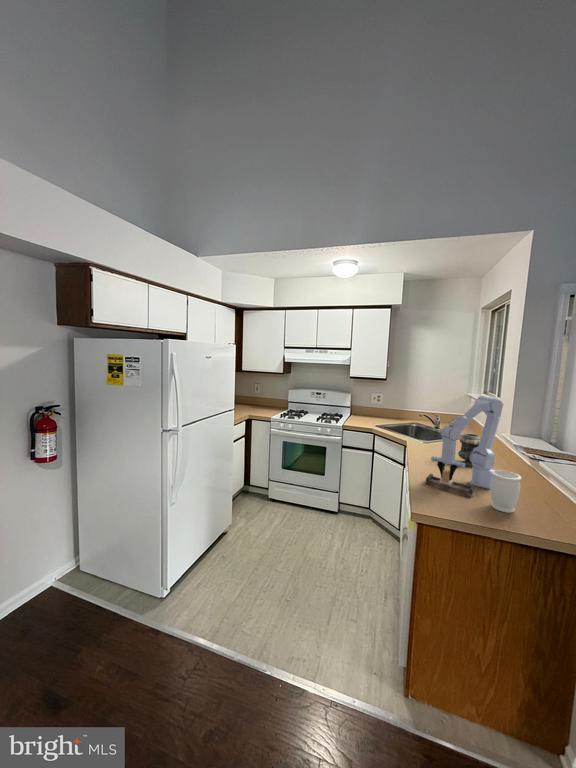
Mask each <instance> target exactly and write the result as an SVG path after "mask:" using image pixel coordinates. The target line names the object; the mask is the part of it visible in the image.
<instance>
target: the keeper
mask: <svg viewBox="0 0 576 768" xmlns="http://www.w3.org/2000/svg"><path fill="white" fill-rule="evenodd" d="M449 477H450V469H446V468H444V470H443V472H442V479H441V480H440V481H439V483H442V484H446V485H450V486H451V485H452V484H453V481H454V480H453V479H452V480H449Z"/></svg>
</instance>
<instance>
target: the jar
mask: <svg viewBox="0 0 576 768" xmlns="http://www.w3.org/2000/svg"><path fill="white" fill-rule="evenodd" d="M492 475H493V476H492V479H491V483H490V489H489V490H490V498H491V501H492V502H491V505H490V506H491V507H492V508H493V509H495V510H496V511H499V512H502V513H507V514H508V513H509V514H511V513H515V512H516V509H515V507H516V505H517V504H518V501H519V498H520V493H521V482H520V481H522V476H521V475H520V474H518V473H516V472H512V471H510V470H503V469H493V471H492Z"/></svg>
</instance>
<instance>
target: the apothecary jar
mask: <svg viewBox="0 0 576 768" xmlns="http://www.w3.org/2000/svg"><path fill="white" fill-rule="evenodd" d="M462 435H463V436H461V437H459V442H460V443H461V447H460V450H459V451H458V453H457V455H458V457H459V458H461V459H462V460H461V461H460V462H462V463H465V467H466V468H473V465H472V462H471V461H470V455H471V453H472V452H473V449H474V448H476V447H478V446H479V443H480V439H481V436H480V435H479V434H476V433H470V432H464V433H463V434H462Z"/></svg>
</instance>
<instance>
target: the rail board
mask: <svg viewBox="0 0 576 768" xmlns="http://www.w3.org/2000/svg"><path fill="white" fill-rule="evenodd" d="M441 479H442V478H441V477H437V476H434V474H433V473H430V474H429V475H427V477H425V483H424V485H425V486H426V485H427V487H430V486H431V488H433V487H434V488H435V489H437V490H441V491H445V492H448V493H452V494H455V495H459V496H463V497H466V498H469V499H472V497H473V496H474V495H475V493H476V486H475V485H473V484H472V485H470V484H464V483H462V482H461V483H460V482H456V481H454V480H452V481H453V484H452V485H451V486H450V485H446V484H442V483H439V481H440V480H441ZM434 488H433V489H434Z"/></svg>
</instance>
